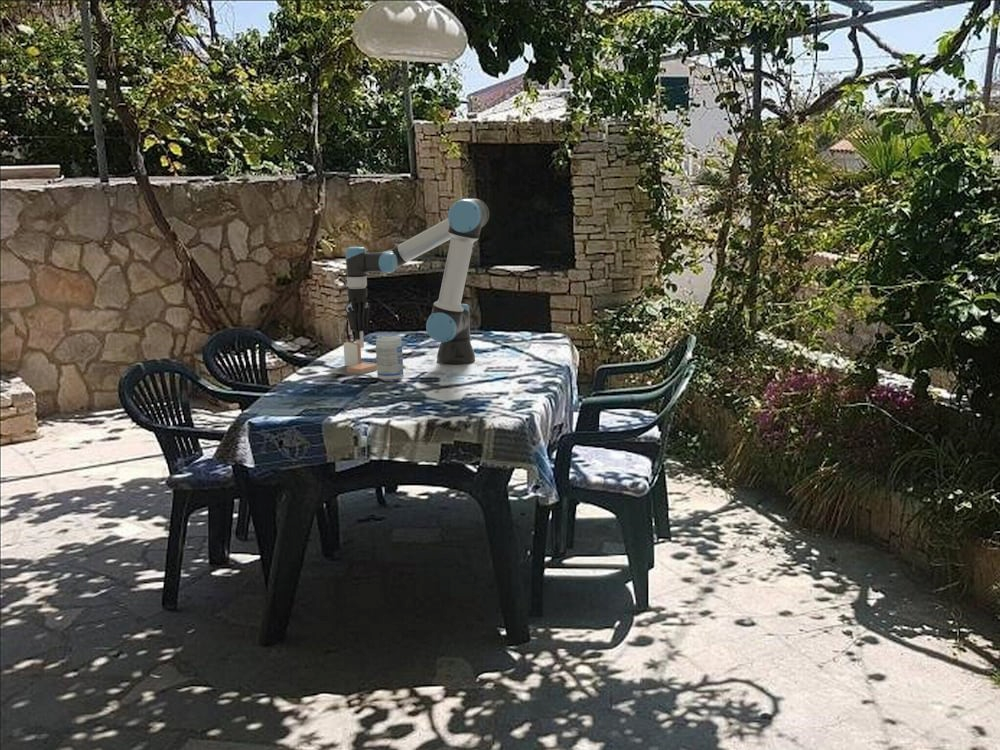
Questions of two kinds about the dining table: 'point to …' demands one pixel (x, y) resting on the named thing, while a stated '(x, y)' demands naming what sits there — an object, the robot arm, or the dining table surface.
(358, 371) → the tan rectangular block
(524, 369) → the dining table surface
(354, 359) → the tan flat block
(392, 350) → the supplement tub
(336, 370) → the mat
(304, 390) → the dining table surface
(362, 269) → the robot arm
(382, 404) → the dining table surface
